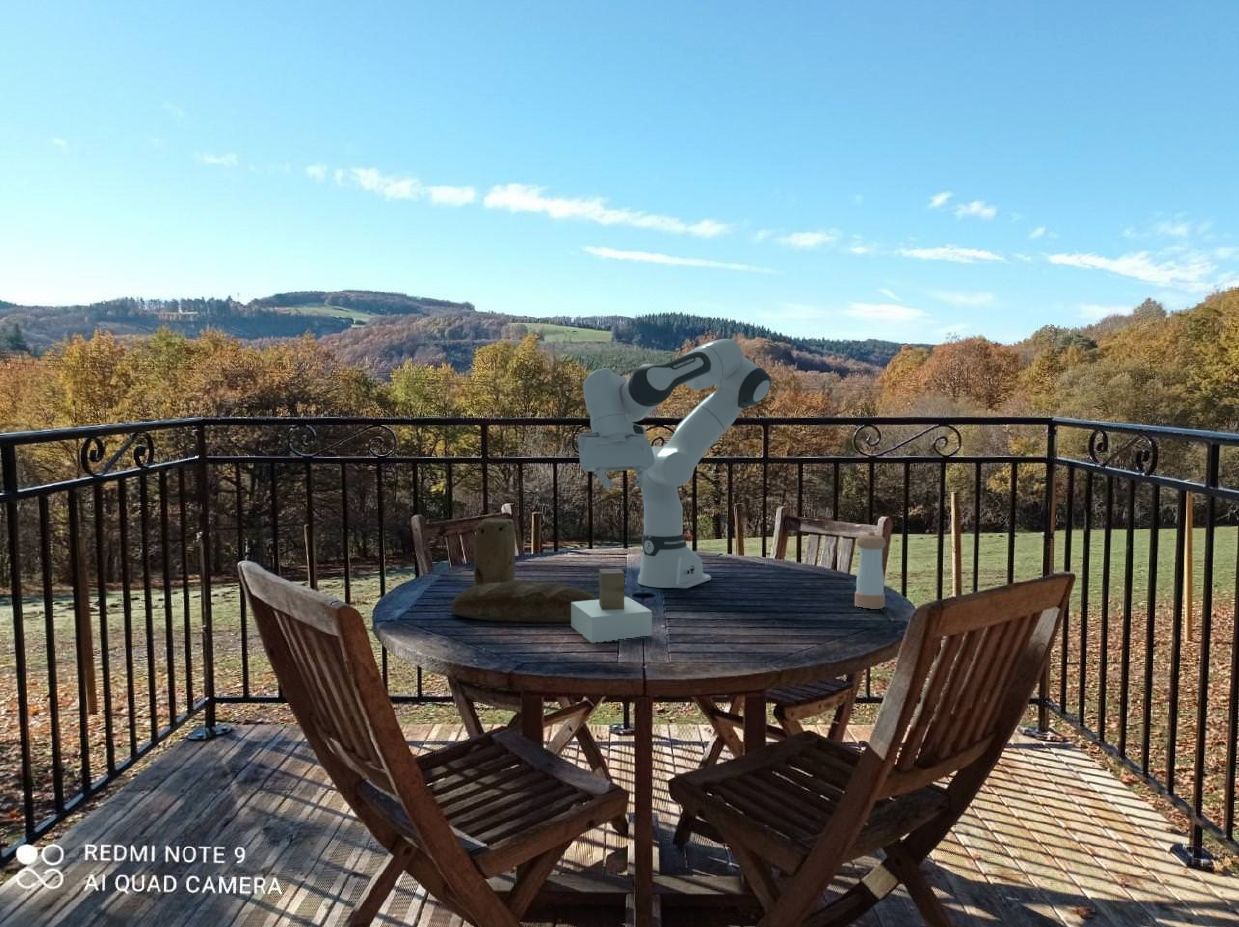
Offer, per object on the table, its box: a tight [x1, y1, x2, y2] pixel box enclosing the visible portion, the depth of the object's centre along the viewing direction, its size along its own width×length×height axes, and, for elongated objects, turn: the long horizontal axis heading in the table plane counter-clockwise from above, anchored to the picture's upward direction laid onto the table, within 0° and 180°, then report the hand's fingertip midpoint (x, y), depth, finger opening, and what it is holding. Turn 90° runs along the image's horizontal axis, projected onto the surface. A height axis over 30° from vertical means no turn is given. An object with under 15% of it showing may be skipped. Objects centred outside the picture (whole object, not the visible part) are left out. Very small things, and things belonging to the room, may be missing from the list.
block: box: [473, 517, 516, 586], centre depth 212 cm, size 11×8×20 cm
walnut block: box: [598, 568, 625, 609], centre depth 176 cm, size 5×5×8 cm
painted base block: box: [570, 596, 653, 644], centre depth 176 cm, size 14×14×6 cm
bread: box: [451, 580, 599, 624], centre depth 190 cm, size 16×36×8 cm, turn 85°
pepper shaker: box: [854, 530, 887, 609], centre depth 198 cm, size 7×7×19 cm
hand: (624, 486), depth 186 cm, fingers open, 8 cm apart
